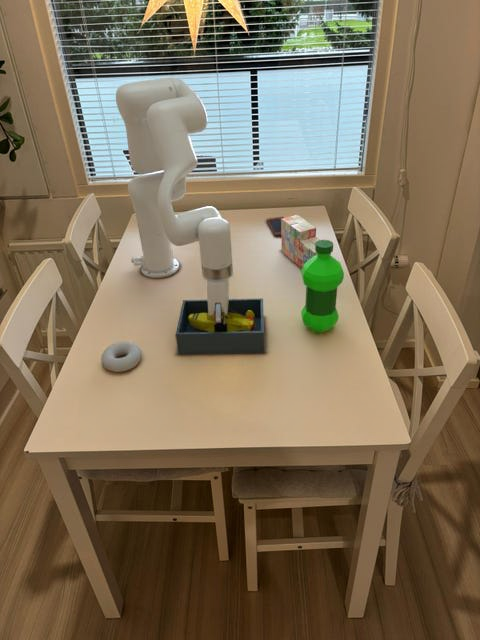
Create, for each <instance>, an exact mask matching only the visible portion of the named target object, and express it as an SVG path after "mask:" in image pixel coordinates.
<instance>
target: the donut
mask: <svg viewBox="0 0 480 640" xmlns="http://www.w3.org/2000/svg"><path fill="white" fill-rule="evenodd" d="M122 355H124V356H122ZM119 356H122V357H119ZM141 358H142V350H141V348H140V347H139V345H137V344H136V343H134V342H132V341H131V342H130V341H118V342H115V343H113V344H110V345H109V346H107V347H106V348H105V350H103V352H102V354H101V363H102V365H103V367H104V368H105V369H107V370H108V371H111V372H114V373H117V372H118V373H121V372H126V371H128V370H132V369H133V368H135V367H136V366H137V365H138V364H139V362H140V361H141Z"/></svg>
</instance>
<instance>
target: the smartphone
mask: <svg viewBox="0 0 480 640" xmlns="http://www.w3.org/2000/svg"><path fill="white" fill-rule="evenodd" d="M282 218H285V216H277V217H269V218H266V222H267V224H268V226H269V228H270V230H271V231H272V233H273V235H274V237H282V235H281V219H282Z"/></svg>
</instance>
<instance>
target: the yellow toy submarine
mask: <svg viewBox="0 0 480 640" xmlns="http://www.w3.org/2000/svg"><path fill="white" fill-rule="evenodd" d="M228 309H229V308H228ZM230 310H231V309H230ZM232 311H233V310H232ZM222 312H223V311H221V313H222ZM234 312H235V311H234ZM236 313H237V312H236ZM254 318H255V317H254V313H253V312H252V311H251V310H248V311H247V313H246V316H243V315H241V314H239V313H238V314H235V313H230V312H227V314H226V315H225V322H226V323H227V332H239V331H252V330H253V331H256V329H254V328H255V326H256V324H255V323H254V320H253V319H254ZM188 319H189V322H190V325H191V326H193V327H195V328H196V329H198V330H201V331H203V332H215V329H214V314H213V316H209V314H208V313H197V314H196V313H194V314H190V315H189V317H188ZM221 319H223V316H221Z"/></svg>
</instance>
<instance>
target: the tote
mask: <svg viewBox="0 0 480 640" xmlns="http://www.w3.org/2000/svg"><path fill="white" fill-rule="evenodd" d="M228 308H229V309H228V312H230V313H235V314H238V313H239V314H241V315H243V316H246V313H247V311H248V310H251V311H252V312H253V313H254V317H255V318H254V319H253V320H254V323H255V324H256V326H255V328H254V329H256V331H253V330H252V331H239V332H203V331H201V330H198V329H196V328H195V327H193V326H191V325H190V322H189V319H188V317H189V315H190V314H194V313H196V314H197V313H208V301H207V299H183V300H182V305H181V308H180V312H179V316H178V321H177V324H176V325H177V326H176V330H175V339H176V340H175V341H176V347H177V353H178V355H227V354H228V355H229V354H230V355H231V354H232V355H233V354H265V322H264V321H265V319H264V315H265V314H264V298H257V297H256V298H229V303H228ZM230 309H231V310H230ZM232 310H233V311H232ZM234 311H235V312H234ZM236 312H237V313H236Z"/></svg>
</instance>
